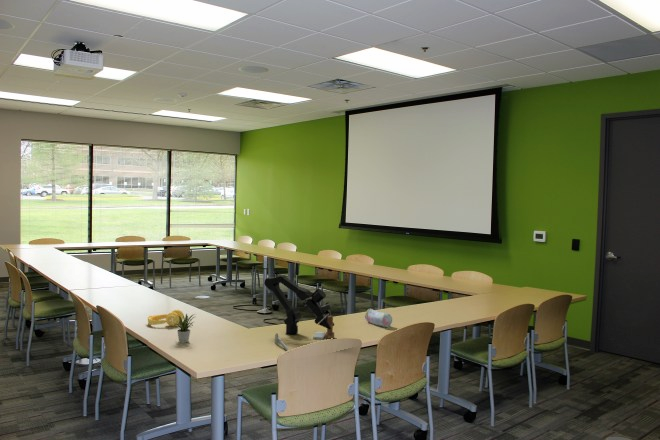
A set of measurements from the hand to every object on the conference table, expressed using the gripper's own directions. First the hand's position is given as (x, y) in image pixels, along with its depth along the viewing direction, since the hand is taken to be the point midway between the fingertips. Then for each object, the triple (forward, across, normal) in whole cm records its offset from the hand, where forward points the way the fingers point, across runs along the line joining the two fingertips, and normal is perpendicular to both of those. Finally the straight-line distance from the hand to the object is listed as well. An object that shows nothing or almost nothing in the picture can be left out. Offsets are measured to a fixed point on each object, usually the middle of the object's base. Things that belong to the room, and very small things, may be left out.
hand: (332, 327), depth 306 cm
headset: (-73, +3, +83) cm, 111 cm away
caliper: (-10, -28, +20) cm, 36 cm away
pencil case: (+20, +44, -11) cm, 50 cm away
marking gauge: (+4, 0, +6) cm, 7 cm away
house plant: (-50, -31, +60) cm, 84 cm away
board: (-1, +2, +10) cm, 11 cm away
